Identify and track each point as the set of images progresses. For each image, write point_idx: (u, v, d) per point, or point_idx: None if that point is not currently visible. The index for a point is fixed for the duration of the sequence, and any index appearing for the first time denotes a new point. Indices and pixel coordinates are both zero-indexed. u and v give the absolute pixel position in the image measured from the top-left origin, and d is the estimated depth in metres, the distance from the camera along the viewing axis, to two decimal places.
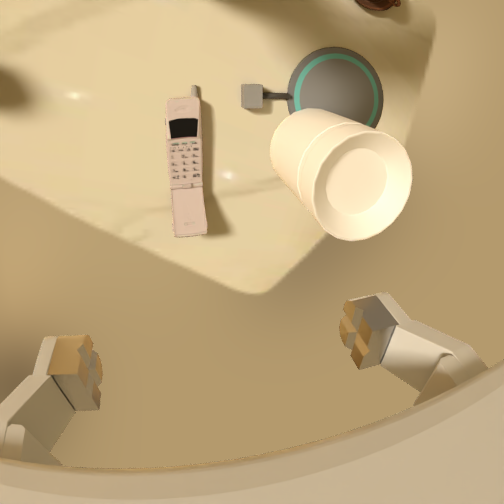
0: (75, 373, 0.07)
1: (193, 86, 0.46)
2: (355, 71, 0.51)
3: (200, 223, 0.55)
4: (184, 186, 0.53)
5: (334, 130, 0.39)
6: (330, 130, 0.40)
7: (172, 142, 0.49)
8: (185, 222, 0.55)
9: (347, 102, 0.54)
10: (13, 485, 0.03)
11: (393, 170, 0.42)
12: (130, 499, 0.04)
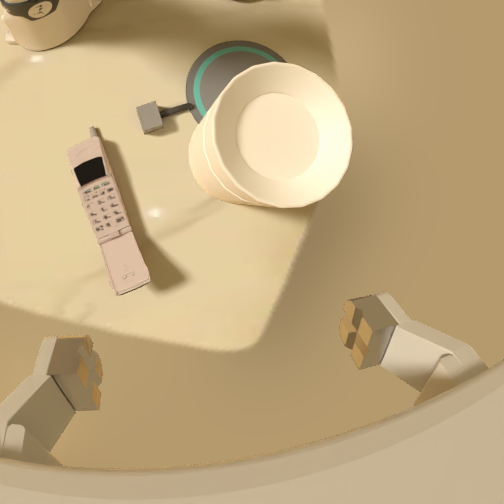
0: (75, 373, 0.07)
1: (90, 128, 0.42)
2: (252, 58, 0.48)
3: (140, 271, 0.44)
4: (111, 235, 0.44)
5: None
6: None
7: (84, 190, 0.42)
8: (124, 275, 0.44)
9: None
10: (13, 485, 0.03)
11: (318, 107, 0.34)
12: (130, 498, 0.04)
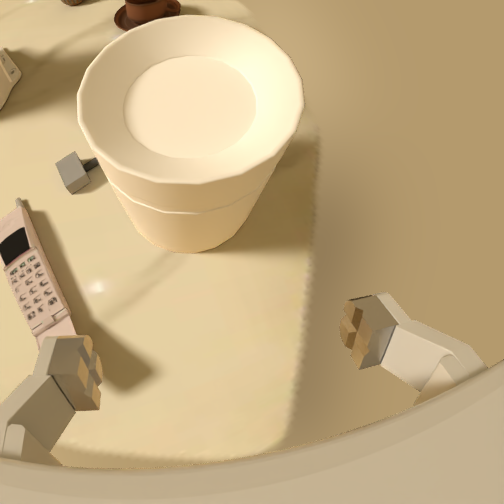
0: (76, 373, 0.07)
1: (16, 200, 0.33)
2: None
3: None
4: (44, 323, 0.30)
5: None
6: None
7: (10, 271, 0.30)
8: None
9: None
10: (13, 485, 0.03)
11: (236, 55, 0.23)
12: (130, 499, 0.04)
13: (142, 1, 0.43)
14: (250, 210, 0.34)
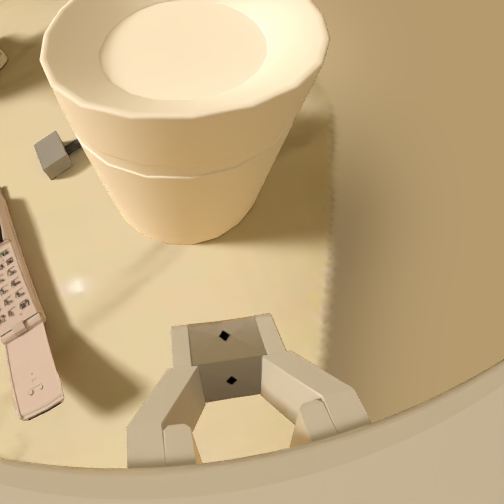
0: (227, 359, 0.08)
1: None
2: None
3: (50, 382, 0.21)
4: (14, 329, 0.23)
5: None
6: None
7: None
8: (31, 389, 0.21)
9: None
10: (13, 485, 0.03)
11: None
12: (130, 498, 0.04)
13: None
14: (259, 189, 0.28)
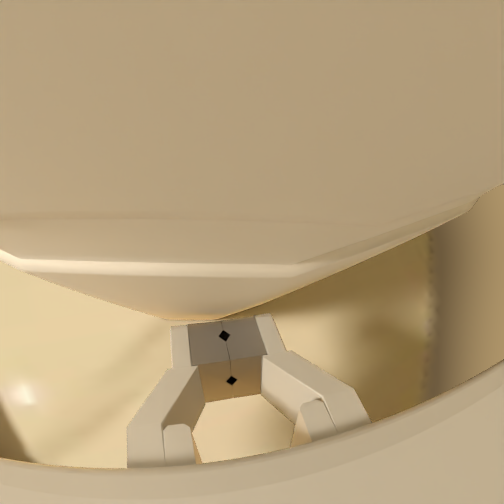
0: (227, 359, 0.08)
1: None
2: None
3: None
4: None
5: None
6: None
7: None
8: None
9: None
10: (13, 485, 0.03)
11: None
12: (130, 499, 0.04)
13: None
14: None
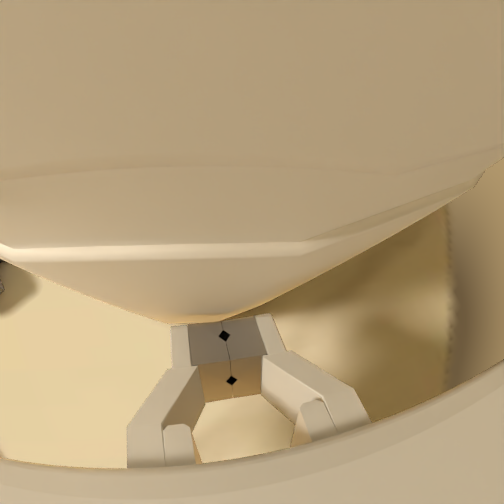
0: (227, 359, 0.08)
1: None
2: None
3: None
4: None
5: None
6: None
7: None
8: None
9: None
10: (13, 485, 0.03)
11: None
12: (130, 499, 0.04)
13: None
14: None
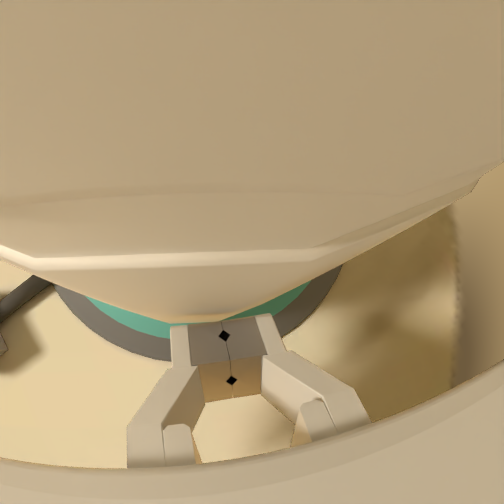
0: (227, 359, 0.08)
1: None
2: None
3: None
4: None
5: None
6: None
7: None
8: None
9: None
10: (13, 485, 0.03)
11: None
12: (130, 498, 0.04)
13: None
14: None
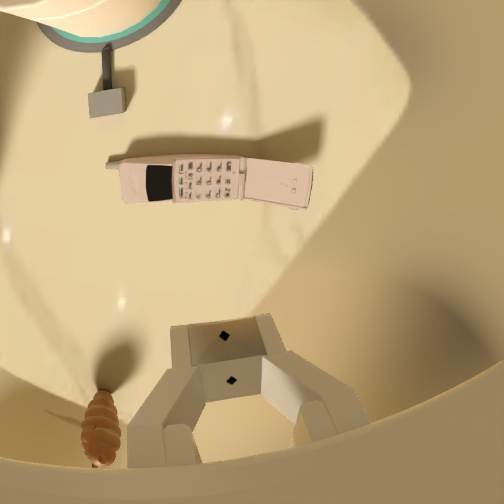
0: (227, 359, 0.08)
1: (107, 167, 0.36)
2: None
3: (296, 171, 0.38)
4: (241, 183, 0.40)
5: None
6: None
7: (178, 196, 0.39)
8: (290, 190, 0.39)
9: None
10: (13, 485, 0.03)
11: None
12: (131, 499, 0.04)
13: None
14: None
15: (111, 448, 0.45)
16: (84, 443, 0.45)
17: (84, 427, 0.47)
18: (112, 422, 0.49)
